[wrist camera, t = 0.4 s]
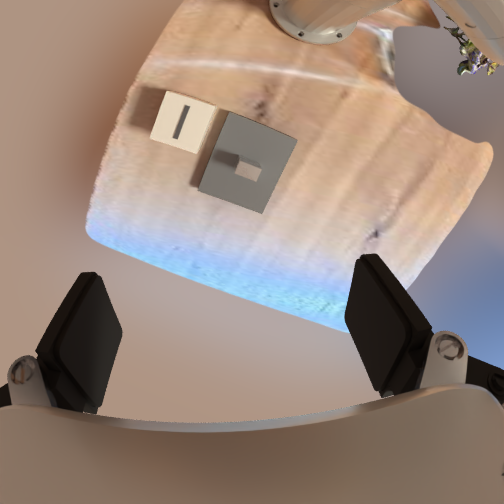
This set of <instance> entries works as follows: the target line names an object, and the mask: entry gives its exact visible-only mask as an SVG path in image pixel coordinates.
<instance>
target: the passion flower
mask: <svg viewBox="0 0 504 504" xmlns="http://www.w3.org/2000/svg"><path fill="white" fill-rule="evenodd" d="M447 18H448V19H450V20H452V19H451V18H450V17H448V16H447ZM452 21H453V20H452ZM453 22H454V21H453ZM444 28H445V29H447V30H448V31H449V32H450V33H451V34H452V35H453V36H454V37H456V38H457V39H458V40H459V38H458V37H460V38H461V39H462V40H464V39H463V38H462V35H465V34H464V32H463V33H461V34H458V33H457V32H458V30H459V27H457V28H452V29H451V28H446V27H444ZM464 41H465V40H464ZM459 43H460V44H461V46H460V53H461V55H463V56H464V57H466V58H467V59H468V60H465V61H462V62H461V63H460V64H459V68H458V69H457V73H458V74H459V75H462V74H463V73H464V72H465V71H466V72H468V73H470V74H472V73H473V74H475V73H476V71H477V70H479V69H480V67H481V68H482V67H486V66H487V65H488V69H487V72H488V73H487V74H488V75H489V74H490V75H491V74H493V72H494V71H495V69H496V68H497V67H498V66H499V64H497V63H495V62H493V63H489V62H488V61H489V60H490V59H489V58H487V57H486V56H485V55H484V54H483V53H481V52H480V51H479V50H478V49H477V47H476V46H475V45H474V44H473V43H472V42H471V41H470V40H469V39H468V41H465V43H462V42H461V41H460V40H459Z"/></svg>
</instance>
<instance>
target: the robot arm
mask: <svg viewBox="0 0 504 504" xmlns="http://www.w3.org/2000/svg"><path fill="white" fill-rule="evenodd" d="M400 1H402V0H269V6H270V11H271V14H272V16H273V18H274V20H275V21H276V23H277V24H278V25H279V26H280V27H281V28H282V29H283V30H284V31H285V32H286V33H287V34H289V35H290V36H292V37H294V38H296V39H298V40H300V41H303V42H305V43H309V44H314V45H328V44H333V43H336V42H339V41H341V40H344V39H345V38H346V37H348V36H349V35H350V34H351V33H352V32H353V31H354V29H355V27H356V25H357V21H358V20H360V19H362V18H364V17H367V16H369V15H371V14H373V13H376V12H378V11H380V10H383V9H385V8H387V7H390V6H392V5H395V4H397V3H398V2H400ZM434 1H435V2H436V3H437V4H438V5H439V6H440V7H441V8H442V9H443V10H444V11H445V12H446V14H448V16H449V17H450V18H451V19H452V20H453V21H454V22H455V23H456V24H457V26H458V27H459V28H460V29H461V30H462V31H463V32H464V34H465V35H466V36H467V37H468V38H469V40H470V41H471V42H472V43H473V44H474V45H475V46H476V47H477V49H478V50H479V51H480V52H481V53H483V54H484V55H485V56H486V57H487V58H489V59H490V60H492V61H493V62H495V63H497V64H499V65H502V66H504V0H434ZM274 6H277V8H276V7H274ZM298 34H301V36H299V35H298ZM337 35H338V36H339V38H338V37H337ZM345 323H346V325H347V327H348V329H349V332H350V334H351V336H352V338H353V340H354V343H355V345H356V348H357V350H358V352H359V354H360V357H361V359H362V362H363V364H364V366H365V369H366V371H367V373H368V376H369V378H370V381H371V383H372V386H373V388H374V390H375V391H379V393H380V396H381V398H384V397H388V396H391V395H394V396H392V397H388V398H384V399H380V400H376V401H372V402H368V403H364V404H359V405H355V406H350V407H346V408H341V409H337V410H331V411H326V412H320V413H314V414H308V415H301V416H295V417H286V418H278V419H268V420H257V421H244V422H224V423H177V422H156V421H142V420H132V419H123V418H122V419H121V418H114V417H107V416H100V415H94V414H97V410H98V407H100V406H101V405H102V402H103V399H104V395H105V391H106V388H107V384H108V381H109V377H110V374H111V370H112V367H113V364H114V360H115V357H116V354H117V350H118V347H119V344H120V341H121V338H122V328H121V326H120V323H119V321H118V318H117V316H116V313H115V311H114V309H113V306H112V304H111V302H110V299H109V296H108V293H107V291H106V288H105V285H104V283H103V280H102V278H101V276H98V275H97V273H95V272H83V273H81V274H80V275H79V276H78V278H77V280H76V281H75V283H74V284H73V286H72V287H71V289H70V290H69V292H68V294H67V295H66V297H65V298H64V300H63V302H62V303H61V305H60V307H59V308H58V310H57V312H56V313H55V315H54V317H53V319H52V320H51V322H50V324H49V326H48V327H47V329H46V331H45V333H44V335H43V337H42V339H41V341H40V343H39V344H38V346H37V349H36V350H35V351H36V353H37V354H38V356H37V359H36V358H34V357H33V356H30V355H26V356H22V357H20V358H18V359H17V360H15V361H14V363H13V364H12V365H11V366H10V368H9V371H8V374H7V377H8V378H7V379H8V383H7V384H5V385H4V386H2V387H1V388H0V504H504V370H502V369H501V368H498V367H496V366H493V365H490V364H488V363H486V362H483V361H481V360H478V359H476V358H473V357H471V356H469V355H468V349H467V345H466V343H465V342H464V340H463V339H462V338H461V337H460V336H458V335H457V334H455V333H453V332H449V331H440V332H437V333H436V334H434V333H433V332H432V330H431V329H432V326H431V325H430V324H429V322H428V321H427V319H426V318H425V316H424V315H423V313H422V312H421V311H420V309H419V308H418V306H417V305H416V304H415V302H414V301H413V300H412V299H411V297H410V296H409V294H408V293H407V291H406V290H405V289H404V287H403V286H402V285H401V284H400V282H399V281H398V280H397V278H396V277H395V276H394V274H393V273H392V272H391V271H390V269H389V268H388V267H387V266H386V264H385V263H384V262H383V261H382V259H381V258H380V257H379V256H378V255H377V254H363V255H361V256H360V259H357V260H356V262H355V268H354V273H353V278H352V283H351V288H350V292H349V297H348V301H347V306H346V310H345ZM83 411H84V412H85V413H83ZM87 413H91V414H87Z"/></svg>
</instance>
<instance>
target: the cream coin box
mask: <svg viewBox="0 0 504 504" xmlns="http://www.w3.org/2000/svg"><path fill="white" fill-rule="evenodd" d="M217 107H218V105H215V104H212V103H209V102H206V101H203V100H200V99H197V98H194V97H191V96H188V95H185V94H182V93H178V92H175V91H166V94H165V97H164V99H163V102H162V104H161V107H160V110H159V113H158V115H157V118H156V121H155V124H154V127H153V130H152V133H151V136H150V139H153V140H156V141H159V142H162V143H165V144H168V145H171V146H175V147H178V148H181V149H184V150H186V151H189V152H192V153H195V154H197V153H198V151H199V149H200V148H201V145H202V143H203V140H204V138H205V135H206V133H207V130H208V128H209V125H210V123H211V121H212V118H213V116H214V114H215V111H216V109H217Z"/></svg>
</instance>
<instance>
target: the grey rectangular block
mask: <svg viewBox="0 0 504 504" xmlns="http://www.w3.org/2000/svg"><path fill="white" fill-rule="evenodd" d="M261 170H262V168H261V166H260V163H258V162H255V161H253V160H250V159H248V158H245V157H243V156H240V155H239V156H238V159H237V161H236V163H235V166H234V173H235V174H237V175H240V176H243V177H245V178H248V179H250V180H253V181H255V182H256V181H257V179H258V177H259V175H260V172H261Z"/></svg>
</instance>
